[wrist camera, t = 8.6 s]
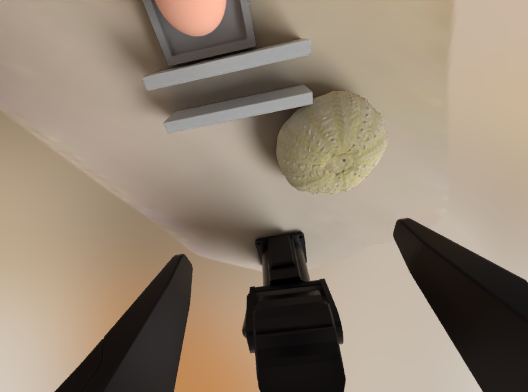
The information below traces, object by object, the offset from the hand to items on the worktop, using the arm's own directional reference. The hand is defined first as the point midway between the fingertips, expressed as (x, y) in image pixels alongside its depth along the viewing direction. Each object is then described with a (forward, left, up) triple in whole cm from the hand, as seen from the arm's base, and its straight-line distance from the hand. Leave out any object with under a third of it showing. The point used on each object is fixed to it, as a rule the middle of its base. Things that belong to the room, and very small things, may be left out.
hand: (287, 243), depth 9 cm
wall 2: (+3, +2, -13) cm, 13 cm away
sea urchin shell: (-2, -5, -13) cm, 14 cm away
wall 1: (+6, +2, -13) cm, 14 cm away
